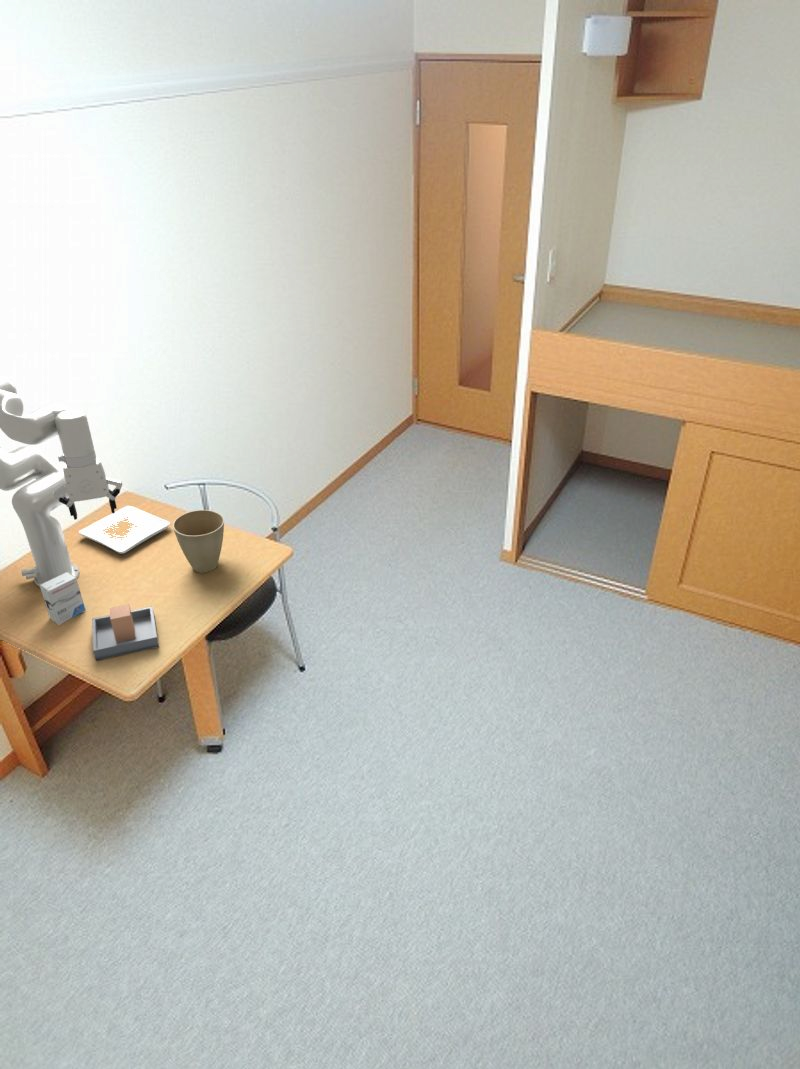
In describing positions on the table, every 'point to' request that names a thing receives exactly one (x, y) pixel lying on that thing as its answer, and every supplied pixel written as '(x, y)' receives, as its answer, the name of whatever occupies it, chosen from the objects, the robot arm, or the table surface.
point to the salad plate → (144, 530)
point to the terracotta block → (122, 623)
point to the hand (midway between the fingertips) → (94, 514)
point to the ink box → (62, 597)
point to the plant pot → (200, 538)
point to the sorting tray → (144, 640)
